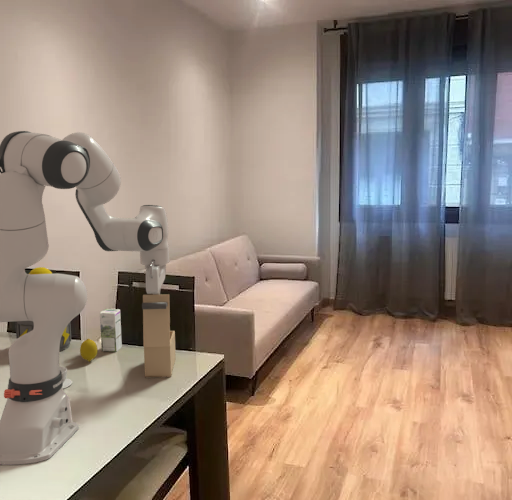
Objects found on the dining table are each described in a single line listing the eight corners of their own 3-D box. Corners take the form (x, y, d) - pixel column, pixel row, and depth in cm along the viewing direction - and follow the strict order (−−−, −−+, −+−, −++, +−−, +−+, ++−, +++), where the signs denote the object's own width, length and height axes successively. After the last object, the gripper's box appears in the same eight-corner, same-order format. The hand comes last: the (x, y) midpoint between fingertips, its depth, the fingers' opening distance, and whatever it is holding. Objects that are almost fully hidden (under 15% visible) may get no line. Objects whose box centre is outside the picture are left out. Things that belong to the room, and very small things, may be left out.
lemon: (94, 364, 171) (93, 341, 169) (78, 364, 171) (77, 341, 170) (100, 358, 176) (99, 336, 175) (84, 358, 176) (82, 336, 175)
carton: (171, 377, 159) (170, 346, 158) (145, 377, 159) (143, 346, 158) (175, 359, 175) (174, 330, 174) (152, 359, 175) (151, 331, 173)
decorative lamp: (82, 342, 194) (78, 264, 190) (48, 358, 176) (43, 273, 172) (41, 337, 200) (36, 262, 195) (4, 353, 182) (-2, 270, 178)
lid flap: (170, 346, 158) (168, 349, 152) (143, 346, 157) (140, 350, 152) (169, 294, 158) (167, 295, 152) (143, 294, 158) (140, 296, 152)
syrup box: (122, 346, 188) (120, 308, 186) (116, 352, 182) (114, 312, 180) (107, 346, 189) (105, 308, 187) (101, 351, 183) (99, 312, 181)
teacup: (59, 394, 148) (58, 378, 147) (29, 391, 150) (28, 375, 149) (78, 380, 158) (78, 366, 157) (50, 378, 160) (49, 363, 159)
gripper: (161, 263, 148) (163, 309, 150) (168, 251, 168) (170, 293, 170) (139, 263, 147) (141, 310, 149) (148, 252, 167) (150, 293, 169)
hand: (156, 301), depth 160 cm, fingers closed
